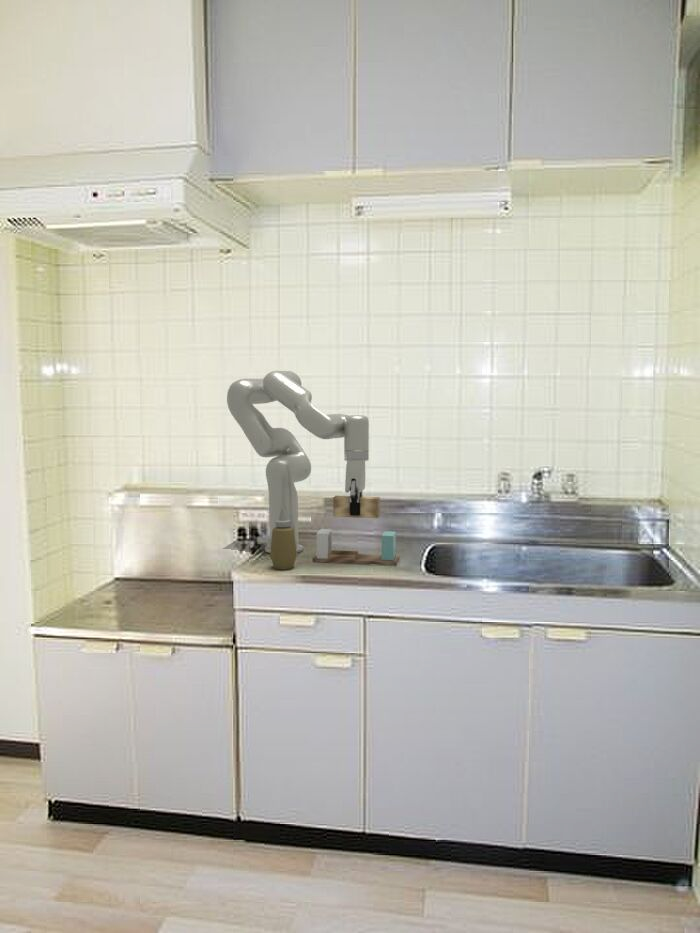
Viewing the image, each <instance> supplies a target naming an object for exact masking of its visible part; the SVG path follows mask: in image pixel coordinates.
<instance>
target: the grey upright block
mask: <svg viewBox="0 0 700 933" xmlns="http://www.w3.org/2000/svg"><path fill="white" fill-rule="evenodd" d="M315 535H316V536H315V537H316V555H317V558H325V559H328V554H332V550H333V529H332V528H331V529H330V528H320V530H319V531H317V532H316V534H315Z"/></svg>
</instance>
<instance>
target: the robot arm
mask: <svg viewBox="0 0 700 933" xmlns="http://www.w3.org/2000/svg"><path fill="white" fill-rule="evenodd" d="M312 398H313V395H312V393H311V391H310V390H308V389H307V388H305V386H302V381H301V378H300V376H299V375H298V373H295V372H294V371H291V370H290V371H289V370H273V371H270V372H268V373H267V374H266V375H264V376H263V378H242V379H241V378H240V379H238V380H235V381H234V382H232V383H231V384H230V385H229V388H228V389H227V394H226V405H227V407H228V410H229V412H230V414H231V416H232V417H233V419H234V420H235V421H236V423H237V424H238V425H239V427H240V428H241V430H242V432H243V434H244V435H245V437H246V438H247V440H248V442H249V443H250V445H251V446H252V448H253V449H254V451H255V452H256V453H257V454H256V455H258V456H260V457H262V458H271V459H270V460H269V461H268V463H266V467H265V478H266V482H267V489H268V517H269V518H268V519H269V520H268V525H269V527H268V528H269V531H268V532H269V536H266V537H262V536H261V537H260V536H258V537H257V538H256V539H257V543H258V544H259V545H266V546H265V547H264V551H265V552H266V553H268V554H270V552H271V541H272V530H273V528H275V527H276V526H275V521H276V520H279V517H280V512H281V509H282V508H285V511H286V515H287V520H291V526H290V527H292V528H293V529H294V533H295V542H296V551H297V554H298V553H301V552H302V551H303V550H304V546H303V545H301V544H299V496H298V492H297V488H296V485H295V483H299V482H302V481H305V480H307V479H308V477H309V476H310V475H311V473H312V465H311V461H310V459H309V457H308V455H307V454H306V453H305V451H304V449H303V448H302V446H301V444H300V443H299V441H298V440H297V438H296V437H295V435H294V434H293V433H292V432H290V431H289V429H286V428H284V427H272V426H271V425H270V423H269V422H268V421H267V418H265V416H264V414H263V413H262V412H261V411H260V410H259V409H258V408H256V407H255V406H254V405H260V404H263V405H264V404H269V403H273V402H278V403H280V404H281V405H283V407H286V408H287V410H290V411H291V412H292V413H293V414H294V417H295V419H296V421H298V423H299V424H300V425H301V427H302V428H304V429H305V430H307V431H308V432H309V433H311V434H312V435H314V436H315V437H317V438H319V439H320V440H321V439H322V440H332V439H340V438H341V439H342V438H344V440H343V442H344V446H343V448H344V449H343V450H344V452H343V453H344V456H343V457H344V458H343V460H344V461H346V466H345V481H344V482H345V484H344V486H345V487H344V492H345V493H349V496H350V515H356V516H359V515H360V503H359V496H363V492H364V490H365V489H366V462H367V461H369V456H370V455H369V450H370V449H369V448H370V447H369V445H370V444H369V442H370V441H369V439H370V436H369V434H370V433H369V430H370V429H369V428H370V424H369V423H370V422H369V418H368V417H367V416H366V415H359V414H358V415H356V414H355V415H349V414H345V413H344V414H343V413H333V414H332V413H331V414H326V413H324V412H322V411H320V410H319V409H318V408H316V407H315V406H314V405H313V404H312Z"/></svg>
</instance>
